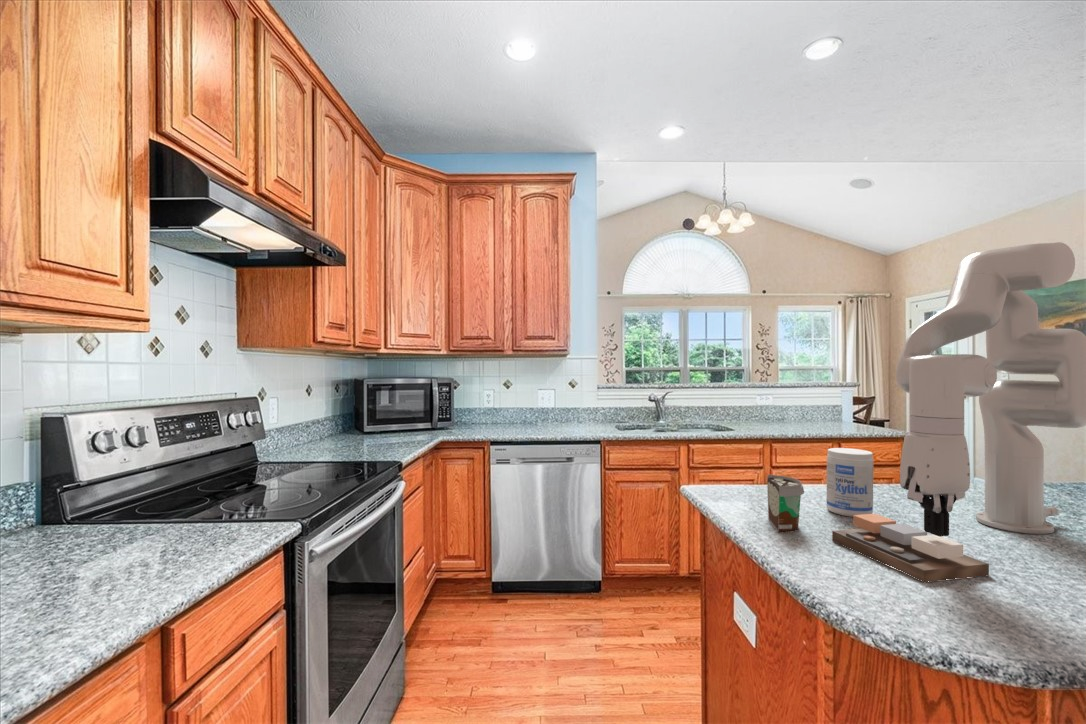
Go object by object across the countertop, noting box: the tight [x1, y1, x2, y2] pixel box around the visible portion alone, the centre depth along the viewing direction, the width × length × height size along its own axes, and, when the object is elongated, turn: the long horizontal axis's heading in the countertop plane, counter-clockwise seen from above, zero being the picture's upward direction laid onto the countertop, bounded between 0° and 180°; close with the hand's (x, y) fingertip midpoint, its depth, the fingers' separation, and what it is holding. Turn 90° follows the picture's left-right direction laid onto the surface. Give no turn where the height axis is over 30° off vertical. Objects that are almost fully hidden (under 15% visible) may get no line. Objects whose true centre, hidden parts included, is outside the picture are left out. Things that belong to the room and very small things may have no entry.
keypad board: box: [831, 528, 990, 583], centre depth 95 cm, size 13×20×3 cm, turn 11°
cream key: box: [912, 534, 964, 559], centre depth 88 cm, size 5×5×2 cm
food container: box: [766, 474, 805, 533], centre depth 113 cm, size 12×6×10 cm, turn 168°
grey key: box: [880, 522, 928, 545], centre depth 95 cm, size 5×5×2 cm
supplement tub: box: [825, 447, 874, 518], centre depth 123 cm, size 10×10×15 cm
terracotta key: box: [852, 513, 897, 533], centre depth 101 cm, size 5×5×2 cm
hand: (936, 533), depth 88 cm, fingers closed
